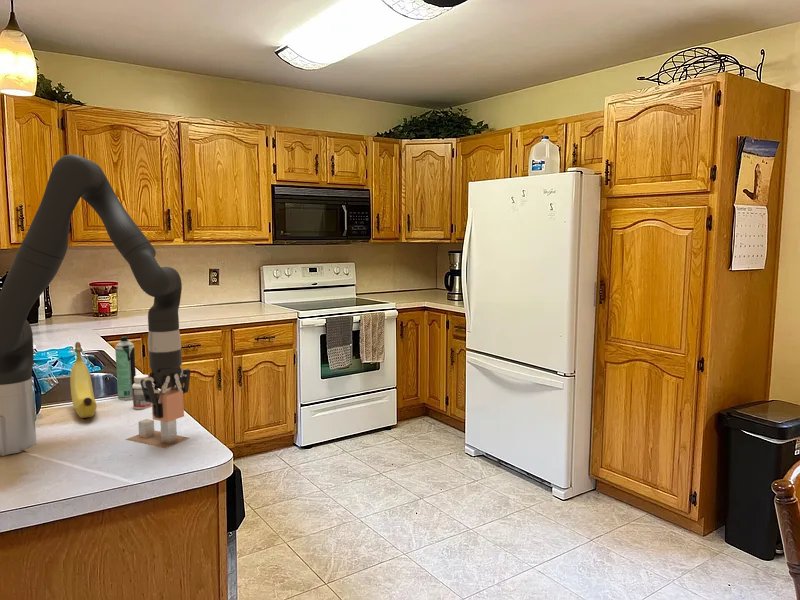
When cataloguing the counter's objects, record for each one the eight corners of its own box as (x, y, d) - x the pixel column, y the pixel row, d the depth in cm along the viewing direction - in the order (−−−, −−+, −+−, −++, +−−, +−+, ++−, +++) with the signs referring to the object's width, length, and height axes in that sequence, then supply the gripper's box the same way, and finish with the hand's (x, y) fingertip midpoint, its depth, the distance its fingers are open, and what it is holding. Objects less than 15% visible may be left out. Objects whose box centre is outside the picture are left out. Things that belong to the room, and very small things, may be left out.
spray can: (140, 397, 189) (137, 336, 187) (124, 401, 184) (121, 338, 182) (130, 394, 192) (127, 334, 189) (114, 398, 187) (111, 337, 185)
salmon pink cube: (167, 422, 143) (166, 396, 142) (152, 419, 145) (151, 393, 144) (184, 416, 147) (182, 390, 147) (169, 413, 150) (167, 388, 149)
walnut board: (165, 451, 142) (165, 448, 142) (125, 442, 148) (125, 439, 148) (190, 440, 149) (190, 437, 149) (151, 432, 155) (151, 429, 155)
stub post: (146, 438, 149) (145, 423, 148) (139, 436, 150) (138, 421, 149) (154, 435, 151) (153, 420, 150) (147, 433, 152) (146, 419, 152)
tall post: (168, 443, 145) (167, 420, 144) (161, 441, 146) (160, 419, 146) (177, 440, 147) (176, 417, 147) (169, 438, 149) (168, 416, 148)
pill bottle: (136, 404, 180) (135, 374, 179) (154, 404, 181) (153, 373, 180) (130, 410, 175) (128, 378, 174) (149, 409, 175) (147, 378, 174)
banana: (101, 422, 164) (96, 352, 161) (77, 426, 161) (72, 354, 158) (91, 402, 182) (87, 340, 180) (70, 405, 179) (66, 342, 177)
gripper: (152, 354, 136) (155, 425, 138) (197, 344, 149) (200, 408, 151) (129, 352, 139) (133, 420, 141) (176, 341, 152) (179, 404, 154)
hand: (168, 414), depth 146 cm, fingers closed on salmon pink cube, 5 cm apart
